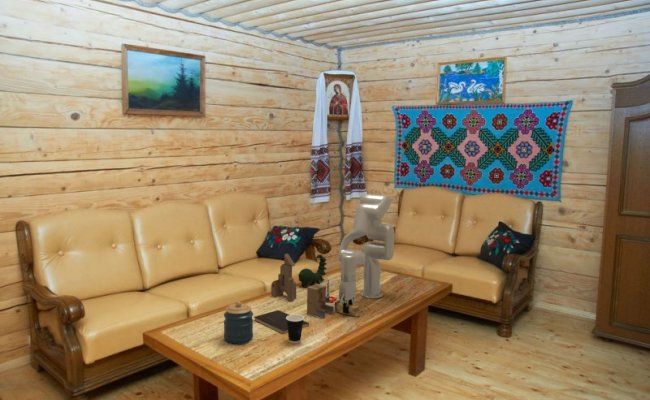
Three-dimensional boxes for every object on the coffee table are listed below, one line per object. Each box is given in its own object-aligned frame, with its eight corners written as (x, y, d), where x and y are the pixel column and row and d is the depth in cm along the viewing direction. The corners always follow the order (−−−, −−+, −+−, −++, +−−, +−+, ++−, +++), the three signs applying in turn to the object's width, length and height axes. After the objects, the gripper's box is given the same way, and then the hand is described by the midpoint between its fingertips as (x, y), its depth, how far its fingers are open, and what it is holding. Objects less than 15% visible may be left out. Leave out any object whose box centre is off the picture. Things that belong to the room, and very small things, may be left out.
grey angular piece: (316, 309, 265) (316, 283, 263) (333, 313, 258) (334, 287, 256) (306, 313, 258) (307, 287, 256) (323, 318, 251) (324, 291, 250)
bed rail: (360, 314, 257) (360, 304, 256) (355, 317, 253) (355, 307, 252) (339, 309, 264) (339, 299, 263) (334, 311, 261) (334, 302, 260)
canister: (255, 343, 220) (255, 305, 217) (225, 346, 216) (224, 307, 214) (250, 332, 232) (251, 295, 230) (222, 335, 228) (222, 297, 226)
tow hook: (322, 297, 286) (319, 301, 277) (323, 275, 285) (320, 279, 276) (336, 298, 284) (334, 303, 275) (337, 276, 283) (335, 280, 274)
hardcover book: (283, 335, 231) (283, 330, 231) (253, 321, 247) (253, 316, 247) (308, 326, 242) (308, 322, 242) (279, 313, 258) (279, 309, 258)
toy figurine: (316, 281, 320) (291, 287, 300) (319, 252, 319) (293, 256, 299) (328, 284, 315) (303, 290, 295) (330, 254, 314) (305, 258, 294)
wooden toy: (270, 296, 285) (270, 253, 282) (278, 293, 290) (279, 251, 287) (290, 302, 275) (291, 257, 272) (298, 299, 281) (299, 255, 277)
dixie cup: (303, 344, 220) (304, 320, 218) (285, 345, 219) (286, 320, 218) (303, 337, 227) (303, 314, 226) (285, 337, 227) (286, 314, 225)
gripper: (350, 272, 264) (350, 305, 267) (333, 280, 251) (332, 315, 254) (363, 275, 260) (362, 309, 263) (345, 283, 247) (345, 318, 250)
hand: (347, 311), depth 258 cm, fingers closed on bed rail, 3 cm apart
